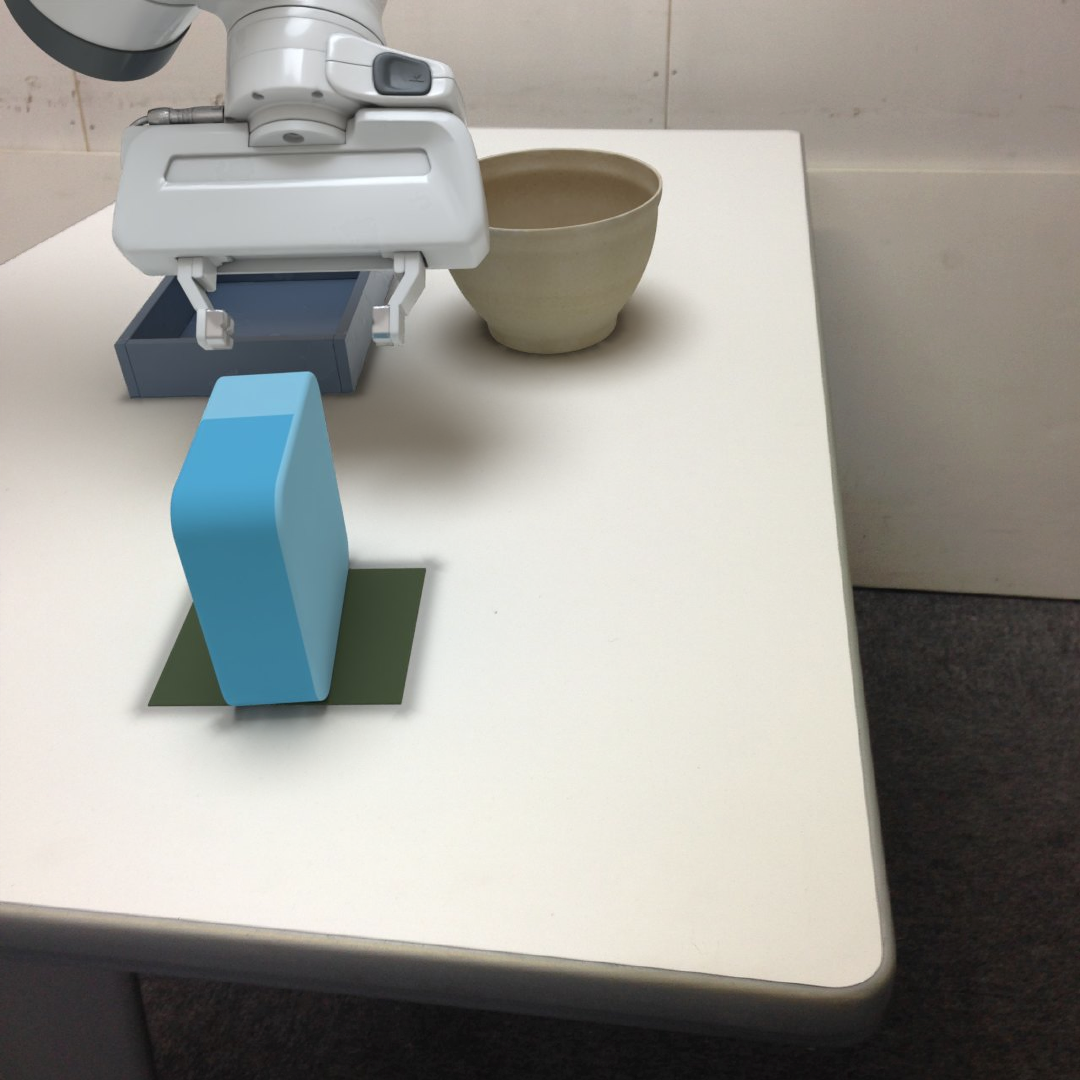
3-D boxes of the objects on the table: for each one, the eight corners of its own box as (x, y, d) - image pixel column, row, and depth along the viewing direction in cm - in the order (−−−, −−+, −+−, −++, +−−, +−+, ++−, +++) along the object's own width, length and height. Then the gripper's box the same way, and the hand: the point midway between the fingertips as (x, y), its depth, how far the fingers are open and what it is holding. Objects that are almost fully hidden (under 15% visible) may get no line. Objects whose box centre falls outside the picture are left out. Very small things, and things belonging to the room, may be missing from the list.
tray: (130, 402, 75) (112, 344, 72) (209, 283, 90) (196, 232, 87) (354, 397, 74) (344, 339, 71) (394, 278, 89) (387, 227, 87)
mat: (149, 710, 51) (147, 704, 51) (207, 576, 59) (206, 570, 59) (402, 708, 50) (400, 703, 50) (426, 573, 58) (425, 567, 58)
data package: (269, 560, 59) (220, 363, 52) (351, 555, 59) (314, 358, 52) (228, 721, 49) (162, 509, 42) (327, 715, 49) (277, 502, 42)
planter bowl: (513, 269, 90) (505, 136, 83) (693, 304, 83) (700, 162, 76) (400, 352, 79) (380, 205, 72) (596, 399, 72) (594, 243, 65)
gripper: (98, 78, 57) (84, 330, 55) (482, 65, 56) (481, 321, 54) (146, 138, 63) (136, 366, 62) (493, 127, 62) (493, 359, 61)
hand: (301, 345), depth 58 cm, fingers open, 8 cm apart
